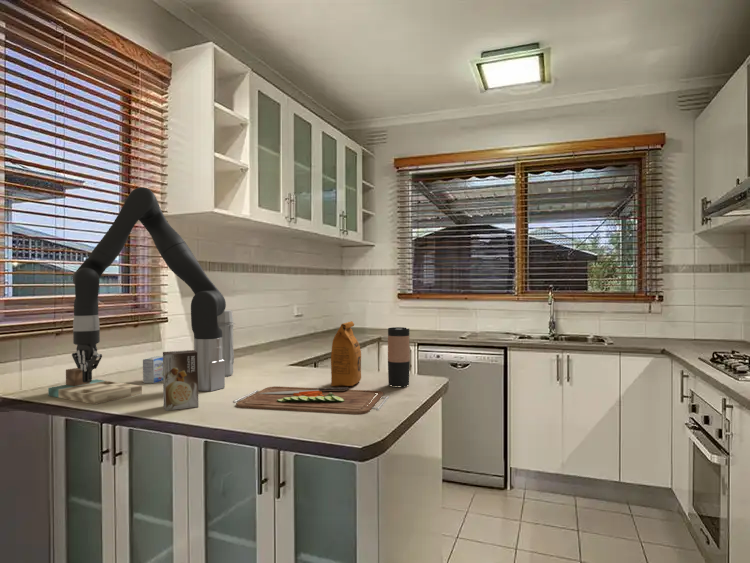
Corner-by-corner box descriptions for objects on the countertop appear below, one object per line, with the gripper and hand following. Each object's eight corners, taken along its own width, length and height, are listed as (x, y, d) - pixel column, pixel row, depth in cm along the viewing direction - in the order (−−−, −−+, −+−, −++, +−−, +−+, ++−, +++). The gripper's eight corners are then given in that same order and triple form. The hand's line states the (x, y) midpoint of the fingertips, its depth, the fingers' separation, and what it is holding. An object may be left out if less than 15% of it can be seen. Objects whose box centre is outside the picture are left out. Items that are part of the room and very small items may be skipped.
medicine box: (153, 383, 183) (153, 359, 183) (142, 383, 184) (142, 359, 184) (166, 379, 191) (166, 356, 191) (156, 379, 192) (156, 355, 192)
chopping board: (223, 408, 149) (223, 398, 149) (262, 389, 175) (262, 380, 175) (375, 417, 140) (374, 405, 140) (392, 395, 166) (392, 386, 166)
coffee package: (365, 381, 185) (365, 321, 185) (353, 388, 173) (353, 324, 173) (340, 380, 188) (340, 320, 188) (326, 387, 176) (326, 323, 176)
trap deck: (141, 393, 166) (141, 386, 166) (94, 404, 152) (94, 395, 152) (96, 386, 178) (96, 379, 178) (48, 395, 164) (48, 387, 164)
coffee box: (195, 402, 154) (195, 349, 154) (198, 407, 149) (198, 352, 149) (162, 406, 150) (162, 351, 150) (164, 411, 144) (164, 354, 144)
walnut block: (89, 383, 171) (89, 368, 171) (74, 386, 166) (74, 370, 166) (80, 382, 173) (80, 367, 173) (65, 384, 169) (65, 369, 169)
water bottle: (209, 376, 197) (209, 311, 197) (225, 372, 204) (225, 310, 203) (224, 378, 192) (224, 311, 192) (241, 375, 198) (241, 310, 198)
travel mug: (384, 386, 177) (384, 328, 177) (392, 382, 184) (392, 326, 184) (405, 388, 174) (405, 329, 174) (412, 384, 181) (412, 327, 181)
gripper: (110, 328, 167) (110, 381, 167) (85, 327, 174) (85, 378, 174) (87, 330, 161) (88, 386, 161) (62, 329, 167) (63, 382, 167)
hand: (87, 382), depth 167 cm, fingers closed
